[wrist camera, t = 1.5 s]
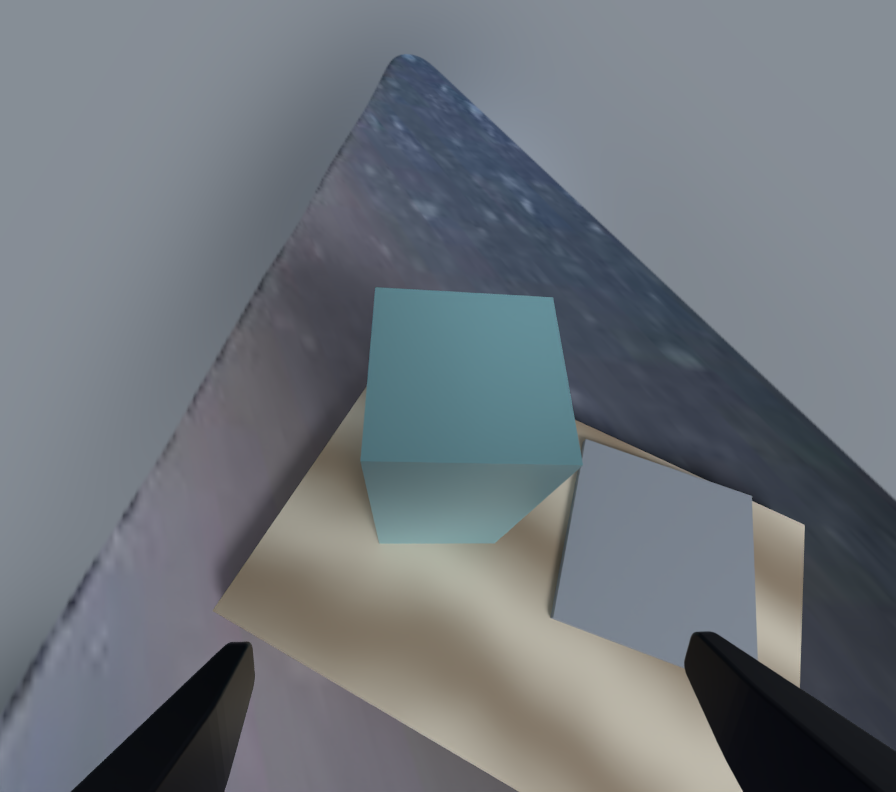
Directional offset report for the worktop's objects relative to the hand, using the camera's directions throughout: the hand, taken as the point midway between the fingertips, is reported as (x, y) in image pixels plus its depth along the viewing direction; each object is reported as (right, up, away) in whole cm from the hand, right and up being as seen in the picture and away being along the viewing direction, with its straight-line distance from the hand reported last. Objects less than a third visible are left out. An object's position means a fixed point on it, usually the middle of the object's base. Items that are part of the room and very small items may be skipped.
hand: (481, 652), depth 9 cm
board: (+4, -3, +13) cm, 13 cm away
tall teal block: (-1, +1, +12) cm, 13 cm away
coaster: (+10, -2, +12) cm, 16 cm away
